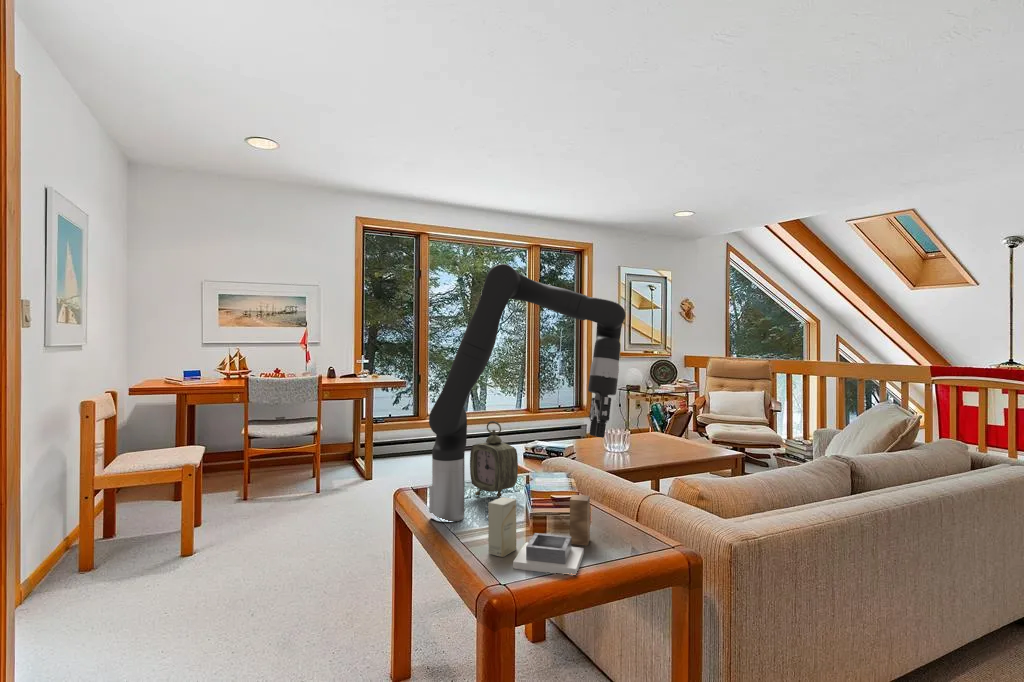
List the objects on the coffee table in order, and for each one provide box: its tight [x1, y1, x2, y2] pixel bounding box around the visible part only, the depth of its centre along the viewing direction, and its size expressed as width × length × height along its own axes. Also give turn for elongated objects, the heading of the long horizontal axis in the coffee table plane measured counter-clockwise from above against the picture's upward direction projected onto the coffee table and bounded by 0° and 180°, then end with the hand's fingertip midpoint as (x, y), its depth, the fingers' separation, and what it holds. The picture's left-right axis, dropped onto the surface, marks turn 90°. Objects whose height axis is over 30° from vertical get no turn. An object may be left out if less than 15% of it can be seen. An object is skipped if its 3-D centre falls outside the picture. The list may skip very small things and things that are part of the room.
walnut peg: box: [569, 494, 591, 546], centre depth 131 cm, size 4×4×11 cm
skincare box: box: [487, 496, 517, 558], centre depth 125 cm, size 6×4×12 cm
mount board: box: [512, 532, 585, 574], centre depth 119 cm, size 14×12×4 cm
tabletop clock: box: [469, 420, 519, 499], centre depth 169 cm, size 14×9×25 cm, turn 43°
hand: (596, 436), depth 138 cm, fingers open, 8 cm apart
